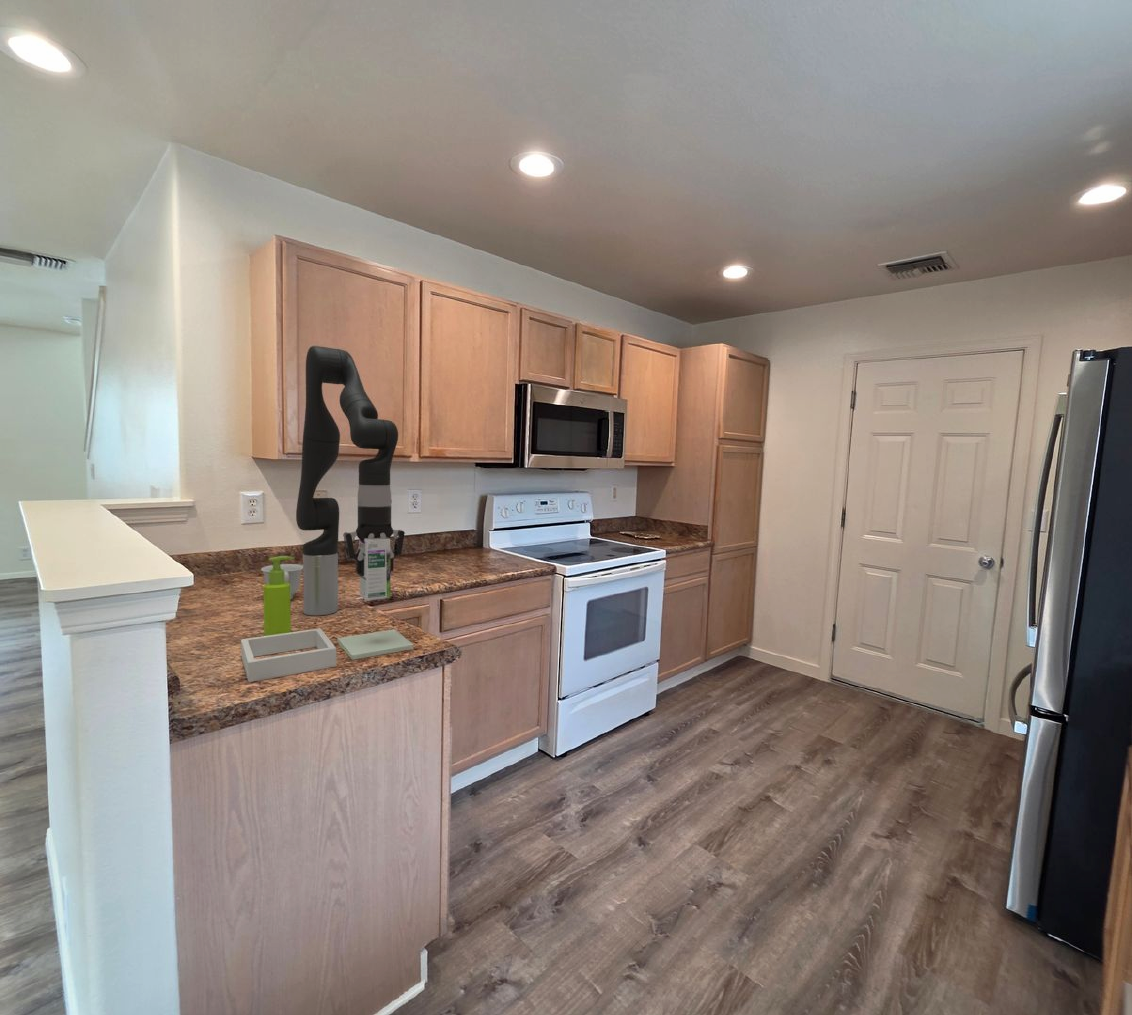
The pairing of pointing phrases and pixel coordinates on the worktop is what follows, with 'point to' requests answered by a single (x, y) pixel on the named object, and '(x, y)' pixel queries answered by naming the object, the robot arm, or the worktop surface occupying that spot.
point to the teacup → (287, 575)
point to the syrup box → (376, 569)
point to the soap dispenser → (277, 600)
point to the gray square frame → (289, 662)
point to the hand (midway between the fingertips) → (374, 574)
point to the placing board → (374, 644)
